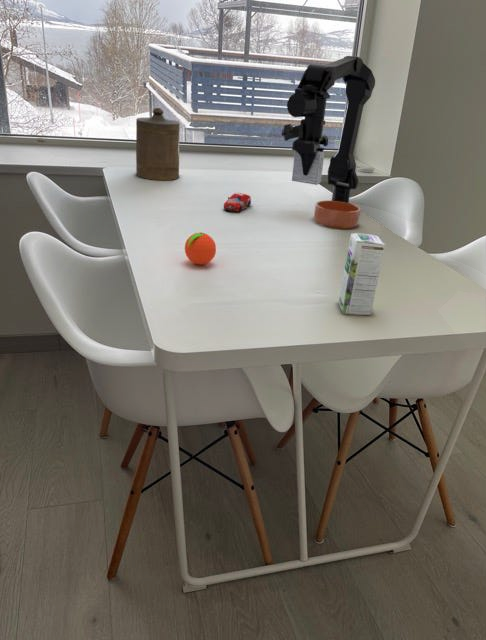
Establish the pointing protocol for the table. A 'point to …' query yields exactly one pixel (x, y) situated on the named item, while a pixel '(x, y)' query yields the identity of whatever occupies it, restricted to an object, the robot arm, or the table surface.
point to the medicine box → (313, 174)
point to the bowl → (336, 214)
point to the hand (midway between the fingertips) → (307, 174)
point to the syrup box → (361, 274)
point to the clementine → (200, 248)
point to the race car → (237, 202)
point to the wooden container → (157, 147)
